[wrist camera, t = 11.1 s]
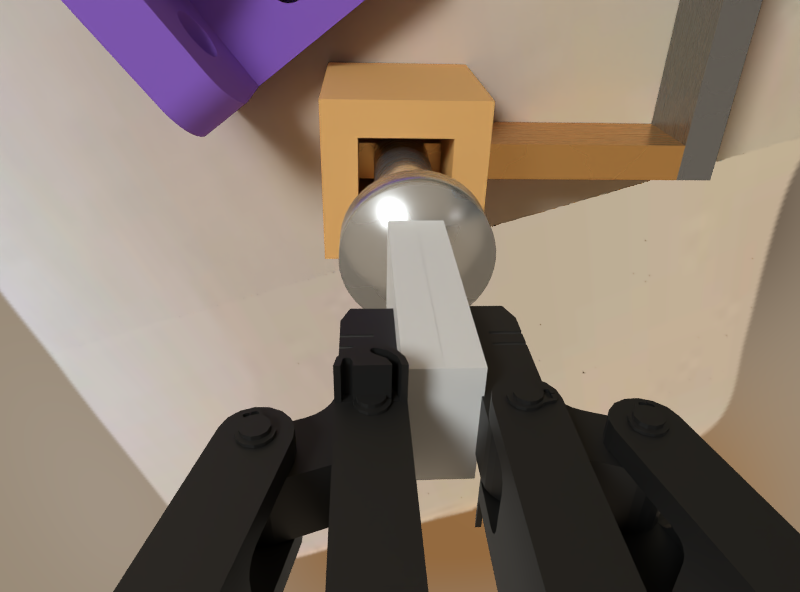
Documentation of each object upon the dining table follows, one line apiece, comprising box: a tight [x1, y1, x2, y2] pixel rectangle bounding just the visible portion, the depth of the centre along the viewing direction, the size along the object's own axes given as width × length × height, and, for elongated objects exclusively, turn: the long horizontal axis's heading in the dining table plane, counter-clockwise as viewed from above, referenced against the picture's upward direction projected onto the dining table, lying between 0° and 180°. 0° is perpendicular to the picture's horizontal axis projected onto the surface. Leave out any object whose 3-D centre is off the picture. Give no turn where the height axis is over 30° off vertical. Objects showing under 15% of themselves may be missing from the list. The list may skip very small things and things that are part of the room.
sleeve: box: [319, 62, 495, 259], centre depth 25 cm, size 6×6×7 cm
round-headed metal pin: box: [339, 138, 496, 309], centre depth 21 cm, size 4×4×9 cm
